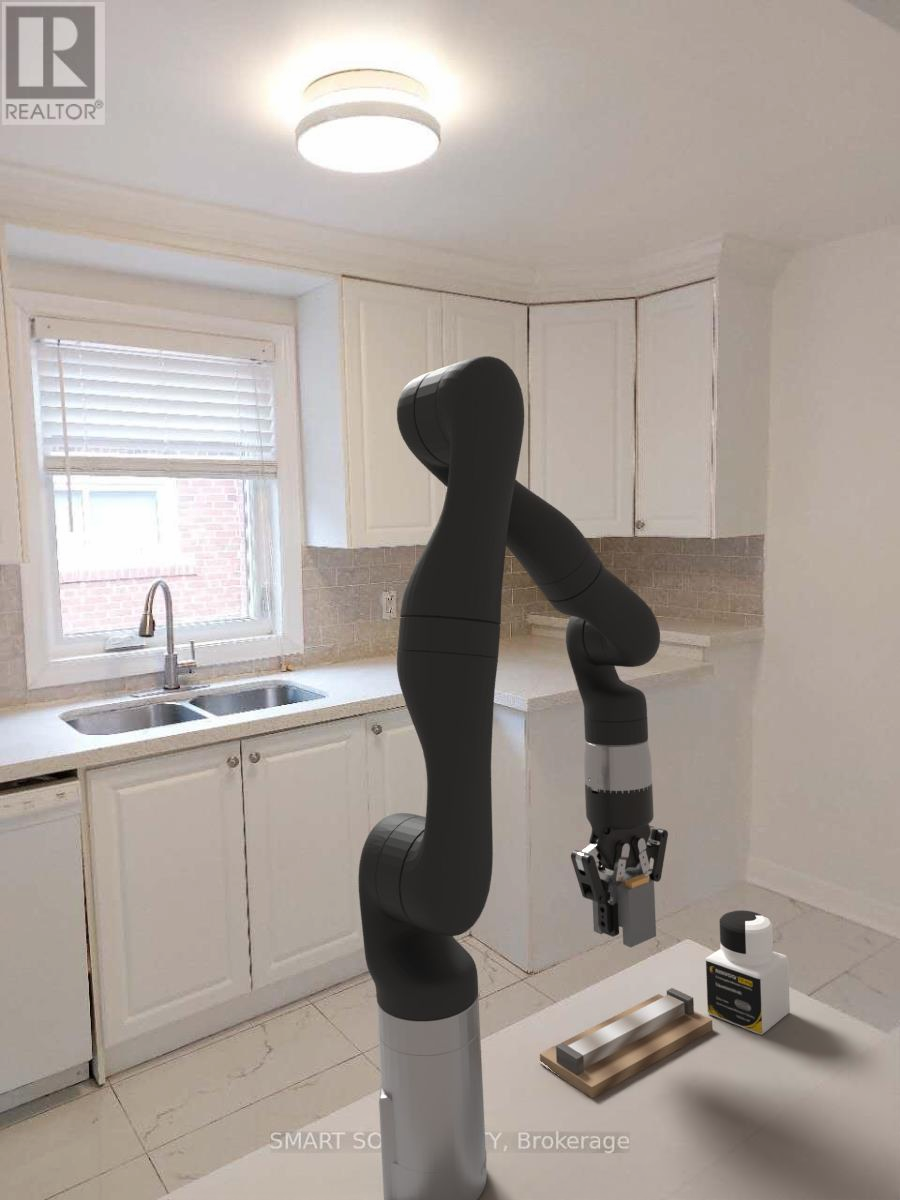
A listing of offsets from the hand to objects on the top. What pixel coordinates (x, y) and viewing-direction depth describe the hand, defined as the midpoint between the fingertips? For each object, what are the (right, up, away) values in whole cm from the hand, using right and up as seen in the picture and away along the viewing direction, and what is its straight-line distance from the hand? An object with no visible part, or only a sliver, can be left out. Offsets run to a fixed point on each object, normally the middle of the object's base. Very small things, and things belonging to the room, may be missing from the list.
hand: (624, 926), depth 97 cm
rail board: (+1, -14, 0) cm, 14 cm away
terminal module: (0, -1, 0) cm, 1 cm away
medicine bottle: (+16, -13, +6) cm, 22 cm away
